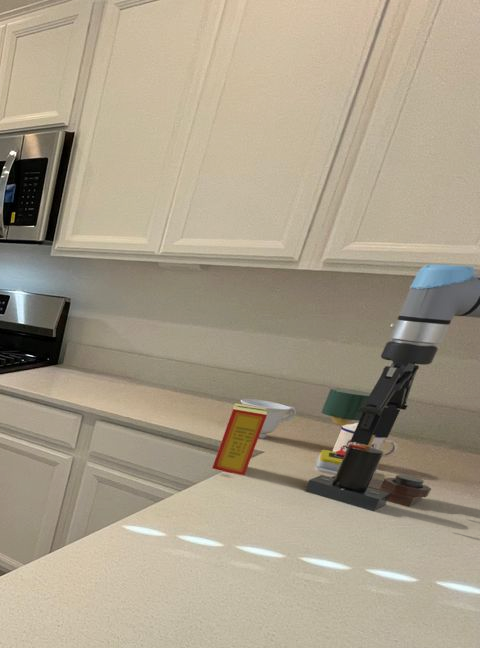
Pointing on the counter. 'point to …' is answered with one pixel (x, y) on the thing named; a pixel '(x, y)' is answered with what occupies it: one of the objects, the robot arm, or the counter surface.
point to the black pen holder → (357, 467)
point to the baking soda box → (240, 438)
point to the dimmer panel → (347, 493)
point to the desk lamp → (345, 406)
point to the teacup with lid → (345, 441)
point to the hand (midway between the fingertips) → (369, 439)
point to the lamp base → (399, 491)
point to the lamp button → (409, 481)
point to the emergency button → (329, 461)
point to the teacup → (271, 414)
